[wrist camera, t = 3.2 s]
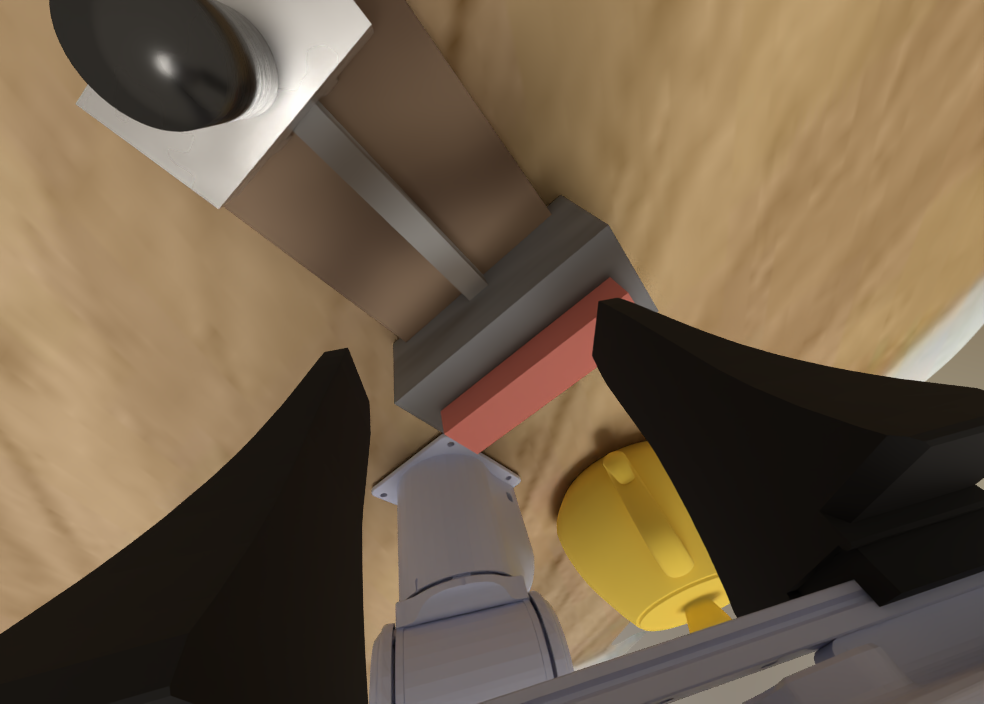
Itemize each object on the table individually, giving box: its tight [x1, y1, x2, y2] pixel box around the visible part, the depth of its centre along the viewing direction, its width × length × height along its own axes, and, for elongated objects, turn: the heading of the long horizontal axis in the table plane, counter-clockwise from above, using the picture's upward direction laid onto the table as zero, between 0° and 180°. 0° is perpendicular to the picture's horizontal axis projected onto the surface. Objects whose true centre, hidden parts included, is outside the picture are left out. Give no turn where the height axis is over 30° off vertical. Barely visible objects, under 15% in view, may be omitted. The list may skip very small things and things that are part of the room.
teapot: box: [557, 441, 732, 633], centre depth 31 cm, size 20×19×13 cm
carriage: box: [49, 0, 374, 209], centre depth 9 cm, size 4×7×7 cm, turn 129°
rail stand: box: [223, 0, 658, 433], centre depth 15 cm, size 19×12×5 cm, turn 39°
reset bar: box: [441, 277, 634, 454], centre depth 17 cm, size 2×10×2 cm, turn 129°
